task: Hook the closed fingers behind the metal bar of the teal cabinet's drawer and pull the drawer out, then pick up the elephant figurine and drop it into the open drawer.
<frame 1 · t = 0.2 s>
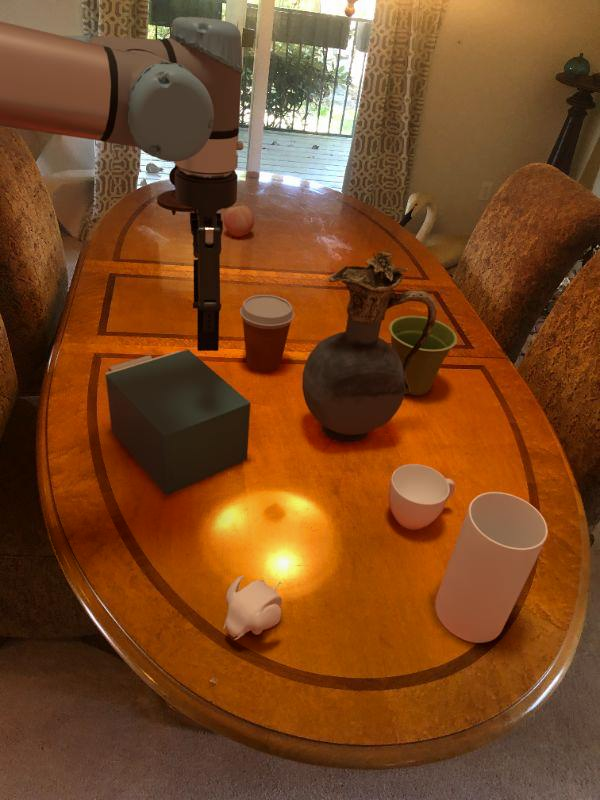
hand: (205, 324, 87), 19 cm above the table, tool pointing down, fingers open, 13 cm apart
brown mechanical sculpture: (183, 208, 177), on the table
pitcher: (354, 429, 101), on the table
disposable coffee cup: (263, 364, 114), on the table
cup: (468, 612, 74), on the table
cup 2: (416, 517, 86), on the table
drawer: (161, 401, 93), point 5 cm above the table, slide at 0.5 cm
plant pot: (409, 386, 113), on the table
apple: (238, 236, 164), on the table
cabinet: (178, 445, 93), on the table
elephant figurine: (253, 624, 70), on the table
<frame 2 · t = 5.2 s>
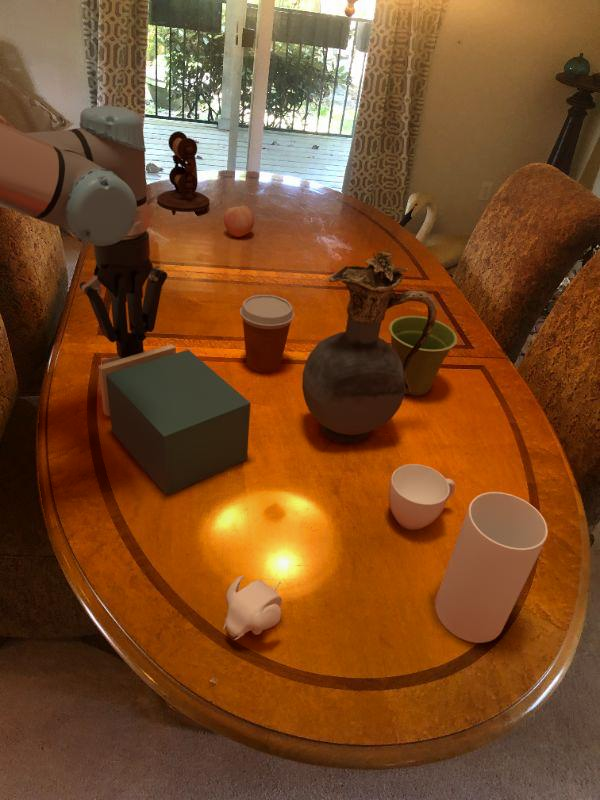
hand: (132, 372, 99), 5 cm above the table, tool pointing down, fingers closed
drawer: (153, 393, 94), point 5 cm above the table, slide at 2.8 cm, touching gripper
everything else where it was.
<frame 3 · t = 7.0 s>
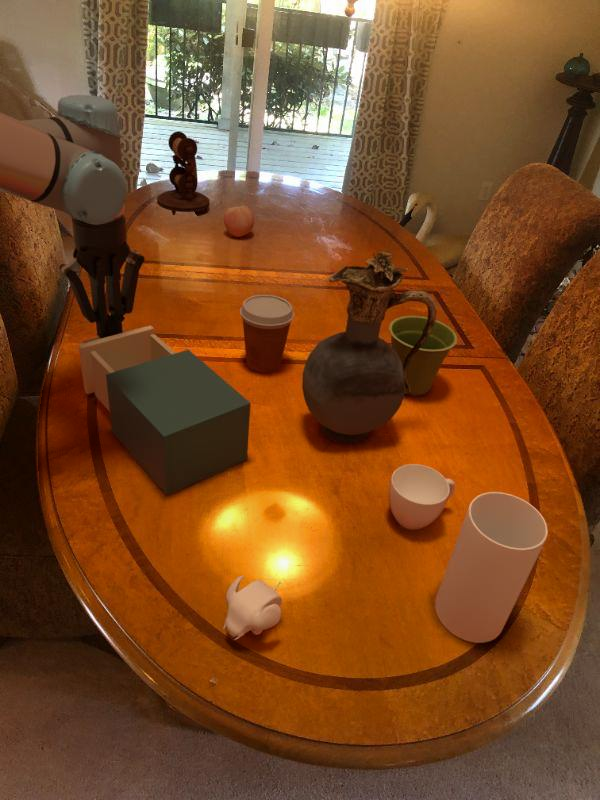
hand: (111, 353, 103), 5 cm above the table, tool pointing down, fingers closed
drawer: (132, 372, 98), point 5 cm above the table, slide at 9.8 cm
everything else where it was.
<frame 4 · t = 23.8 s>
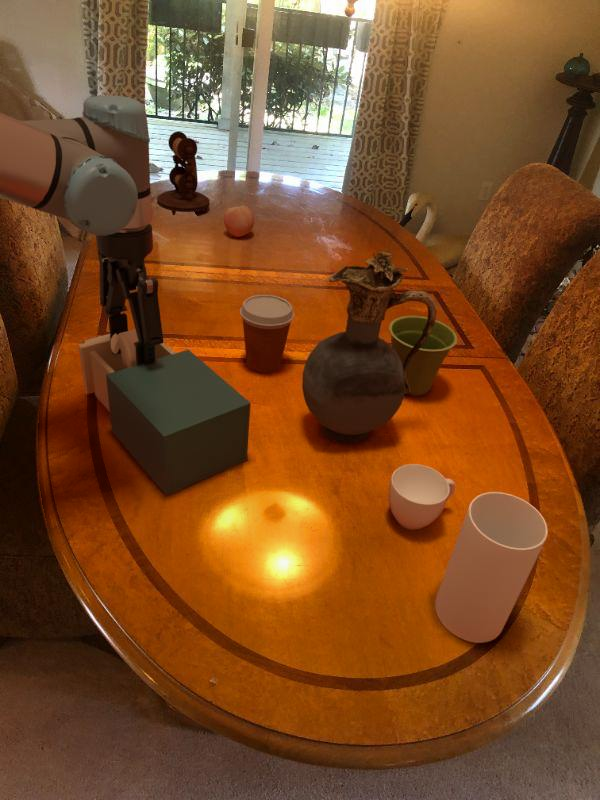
hand: (133, 364, 97), 7 cm above the table, tool pointing down, fingers closed on elephant figurine, 8 cm apart
elephant figurine: (134, 366, 97), point 7 cm above the table, touching gripper
everything else where it was.
when the fingers open (10 cm above the table, at t = 38.0 s): elephant figurine drops 7 cm, resting on drawer.
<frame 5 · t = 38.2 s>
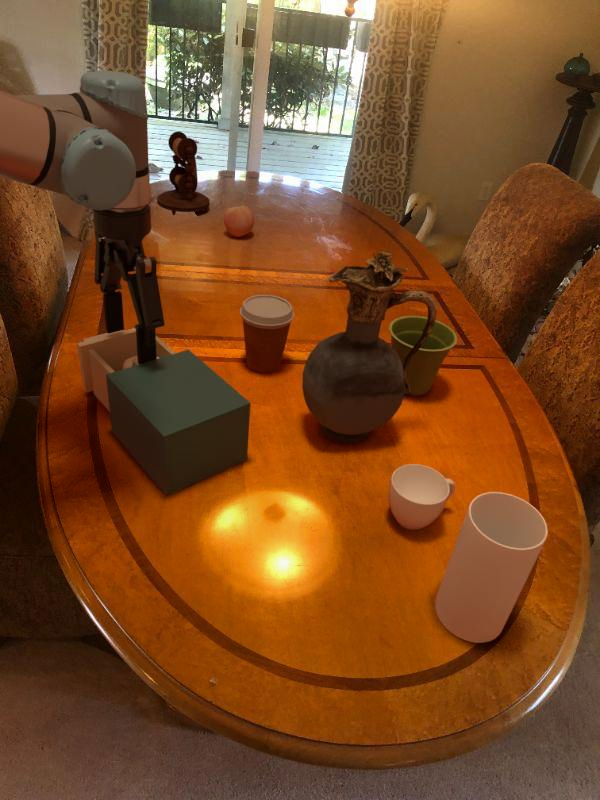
hand: (130, 345, 95), 10 cm above the table, tool pointing down, fingers open, 10 cm apart
drawer: (130, 370, 99), point 5 cm above the table, slide at 10.3 cm, touching elephant figurine
elephant figurine: (138, 388, 99), point 3 cm above the table, touching drawer
everything else where it was.
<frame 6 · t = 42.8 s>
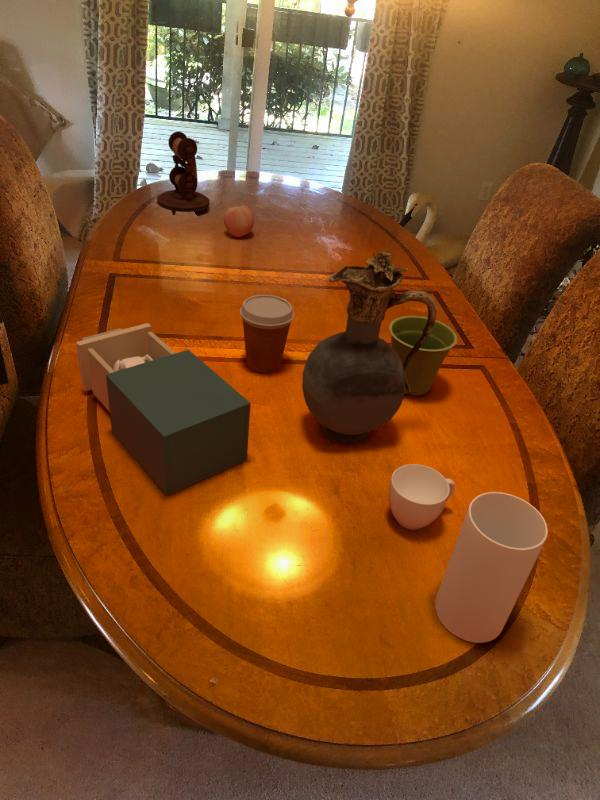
drawer: (129, 369, 99), point 5 cm above the table, slide at 10.7 cm, touching elephant figurine
elephant figurine: (136, 391, 100), point 2 cm above the table, touching drawer
everything else where it was.
at the end: drawer slide at 10.7 cm; elephant figurine inside the target area in the drawer (0.2 cm from its centre), point 1.8 cm above the cabinet's base; the gripper is holding nothing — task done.
